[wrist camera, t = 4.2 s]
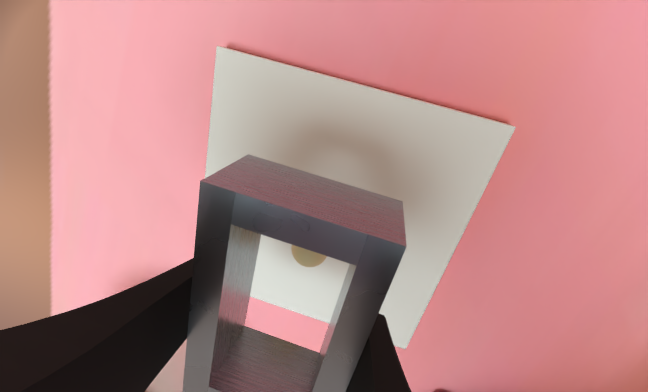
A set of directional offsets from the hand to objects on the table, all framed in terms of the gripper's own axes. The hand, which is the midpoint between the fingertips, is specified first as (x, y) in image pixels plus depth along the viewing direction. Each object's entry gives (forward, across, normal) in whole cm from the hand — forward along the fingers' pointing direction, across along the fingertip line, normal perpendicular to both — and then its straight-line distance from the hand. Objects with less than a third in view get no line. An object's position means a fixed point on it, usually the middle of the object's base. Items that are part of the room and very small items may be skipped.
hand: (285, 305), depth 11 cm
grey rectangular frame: (+2, 0, 0) cm, 2 cm away
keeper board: (+8, 0, 0) cm, 8 cm away
